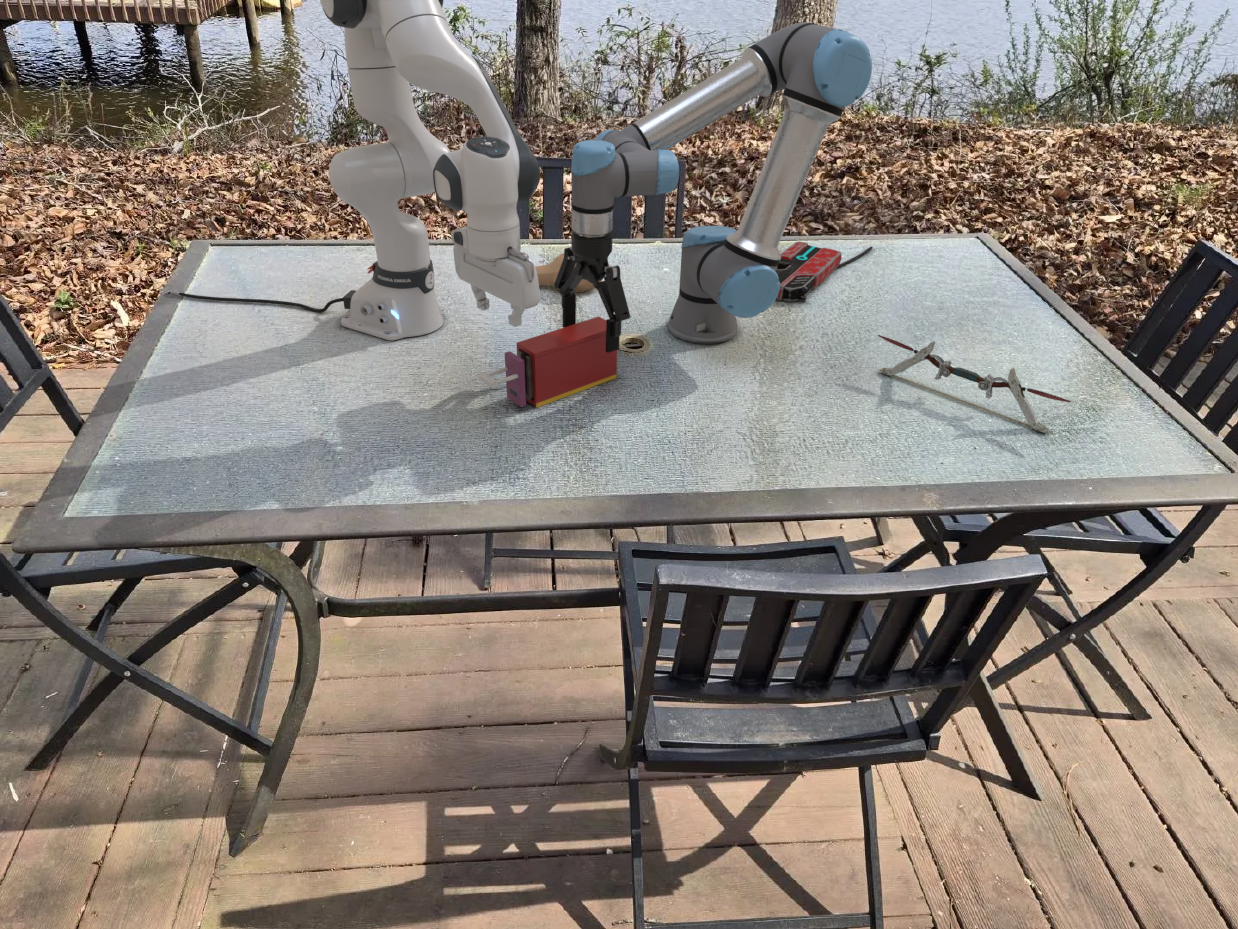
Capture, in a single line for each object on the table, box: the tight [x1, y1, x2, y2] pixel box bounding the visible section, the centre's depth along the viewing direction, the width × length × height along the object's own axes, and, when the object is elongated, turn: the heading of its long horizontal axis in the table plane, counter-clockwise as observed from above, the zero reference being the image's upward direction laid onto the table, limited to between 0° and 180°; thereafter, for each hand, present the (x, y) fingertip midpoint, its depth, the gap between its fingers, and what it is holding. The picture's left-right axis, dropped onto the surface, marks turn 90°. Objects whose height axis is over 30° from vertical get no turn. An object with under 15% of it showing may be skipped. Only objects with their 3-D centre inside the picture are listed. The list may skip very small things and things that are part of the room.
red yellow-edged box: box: [516, 316, 618, 409], centre depth 170 cm, size 20×6×11 cm, turn 130°
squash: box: [534, 252, 602, 293], centre depth 213 cm, size 11×20×9 cm, turn 90°
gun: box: [776, 241, 843, 303], centre depth 223 cm, size 4×31×19 cm
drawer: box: [477, 350, 534, 408], centre depth 166 cm, size 25×5×10 cm, turn 130°
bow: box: [877, 334, 1072, 434], centre depth 169 cm, size 39×2×10 cm, turn 47°
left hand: (499, 316), depth 155 cm, fingers open, 8 cm apart
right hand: (590, 337), depth 171 cm, fingers open, 13 cm apart
